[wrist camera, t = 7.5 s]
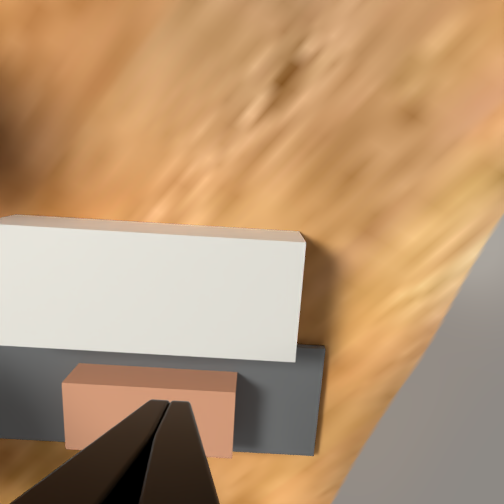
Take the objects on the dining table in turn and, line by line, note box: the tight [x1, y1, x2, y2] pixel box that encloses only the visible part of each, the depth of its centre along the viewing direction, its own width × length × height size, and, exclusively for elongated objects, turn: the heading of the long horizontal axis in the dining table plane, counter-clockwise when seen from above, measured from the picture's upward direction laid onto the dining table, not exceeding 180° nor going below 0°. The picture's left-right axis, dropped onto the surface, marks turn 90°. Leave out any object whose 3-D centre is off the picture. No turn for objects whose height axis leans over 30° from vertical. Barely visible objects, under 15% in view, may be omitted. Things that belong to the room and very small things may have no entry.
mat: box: [0, 344, 325, 456], centre depth 22 cm, size 19×7×1 cm, turn 87°
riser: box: [0, 214, 306, 362], centre depth 20 cm, size 15×6×3 cm, turn 87°
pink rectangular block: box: [62, 363, 237, 458], centre depth 21 cm, size 9×4×2 cm, turn 87°
